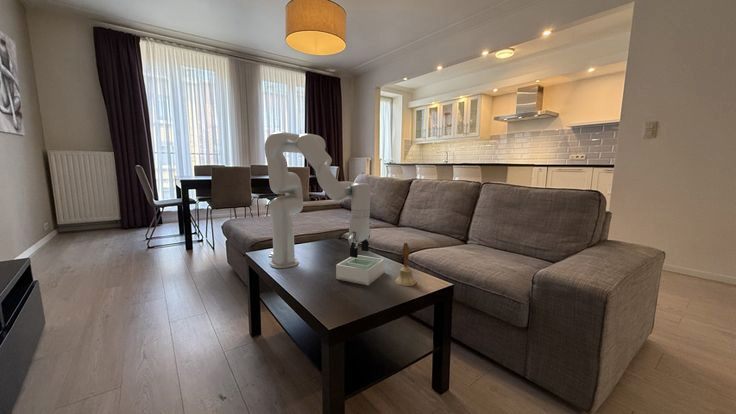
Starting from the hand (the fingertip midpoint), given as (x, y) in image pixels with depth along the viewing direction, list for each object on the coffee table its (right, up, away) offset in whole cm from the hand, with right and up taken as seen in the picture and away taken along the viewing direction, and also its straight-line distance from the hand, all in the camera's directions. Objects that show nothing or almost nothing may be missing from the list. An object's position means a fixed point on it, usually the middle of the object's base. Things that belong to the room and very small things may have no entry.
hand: (359, 253), depth 125 cm
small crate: (+1, -8, +1) cm, 8 cm away
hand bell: (+19, -11, -6) cm, 22 cm away
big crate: (+1, -9, +1) cm, 9 cm away
